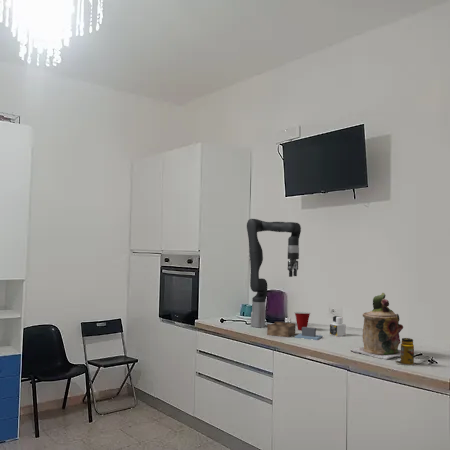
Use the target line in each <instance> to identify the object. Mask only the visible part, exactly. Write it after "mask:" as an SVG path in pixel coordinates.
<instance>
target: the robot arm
mask: <svg viewBox="0 0 450 450" xmlns="http://www.w3.org/2000/svg"><path fill="white" fill-rule="evenodd" d="M246 231H247V237H248V248H249V249H248V251H249V262H250V263H249V264H250V274H249V275H250V279H249V285H250V290H251V291H252V292H253V293H256V294H255V295H254V296H253V297H252V306H251V307H252V308H251V312H250V327H253V328H265V327H266V308H267V307H266V305H267V303H266V300H267V298H268V282H267V280H266V279H265V278H261V277H259V275H260V274H259V273H260V268H261V266H262V265H263V260H264V253H263V248H262V246H261V243H260V241H259V239H258V233H259V232H260V233H261V232H267V231H268V232H276V233H291V235H290V236H289V237H288V239H287V243H288V244H287V245H288V246H287V259H288V261H287V270H288V277H290V278H291V277H297V276H298V270H299V259H300V245H299V244H300V241H299V240H300V236H301V232H302V227H301V224H300V223H299V222H293V221H287V222H286V221H264V220H261V219H257V218H249V219H248V220H247V222H246Z"/></svg>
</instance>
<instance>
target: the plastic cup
mask: <svg viewBox="0 0 450 450" xmlns="http://www.w3.org/2000/svg"><path fill="white" fill-rule="evenodd" d="M294 315H295V321H296V326H297V330H298V331H302V327H308V326H309V319H310V316H311V312H307V311H306V312H304V311H302V312H301V311H295V312H294Z"/></svg>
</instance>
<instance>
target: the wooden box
mask: <svg viewBox="0 0 450 450" xmlns="http://www.w3.org/2000/svg"><path fill="white" fill-rule="evenodd" d="M266 328H267V329H266V332H267V333H266V335H267V336H272V337H280V338H281V337H283V338H290V337H292V336H294V335H295V336H296V323H293V322H283V321H274V323H267V327H266Z"/></svg>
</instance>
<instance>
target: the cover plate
mask: <svg viewBox="0 0 450 450" xmlns="http://www.w3.org/2000/svg"><path fill="white" fill-rule="evenodd" d="M316 329H317V327H310V326H307V327H302V330H301V333H299V334H297V335H296V334H295V336H294V338H295V339H301V338H304V339H303V340H311V339H313V340H312V341H318V340H320V339H322V338H323V335H320V334H317V332H316V331H317V330H316ZM321 337H322V338H321Z"/></svg>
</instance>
